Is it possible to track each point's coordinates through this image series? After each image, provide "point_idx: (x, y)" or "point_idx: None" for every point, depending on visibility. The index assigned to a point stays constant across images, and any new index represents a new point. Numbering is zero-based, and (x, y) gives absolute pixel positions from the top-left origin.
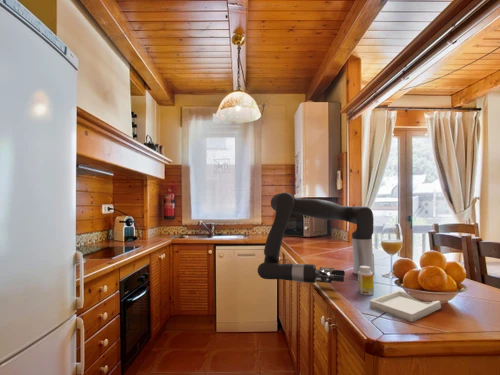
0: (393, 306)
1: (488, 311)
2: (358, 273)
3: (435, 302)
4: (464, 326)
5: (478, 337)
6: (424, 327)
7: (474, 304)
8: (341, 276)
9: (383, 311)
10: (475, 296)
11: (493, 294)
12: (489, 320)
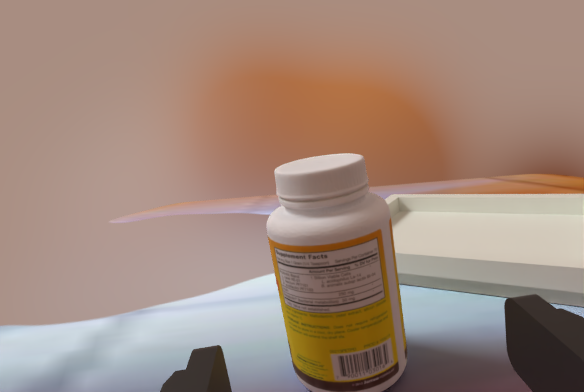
0: (534, 249)
1: None
2: (364, 228)
3: (413, 196)
4: (510, 189)
5: (562, 178)
6: None
7: None
8: (545, 306)
9: None
10: (244, 206)
11: (219, 200)
12: (421, 185)
